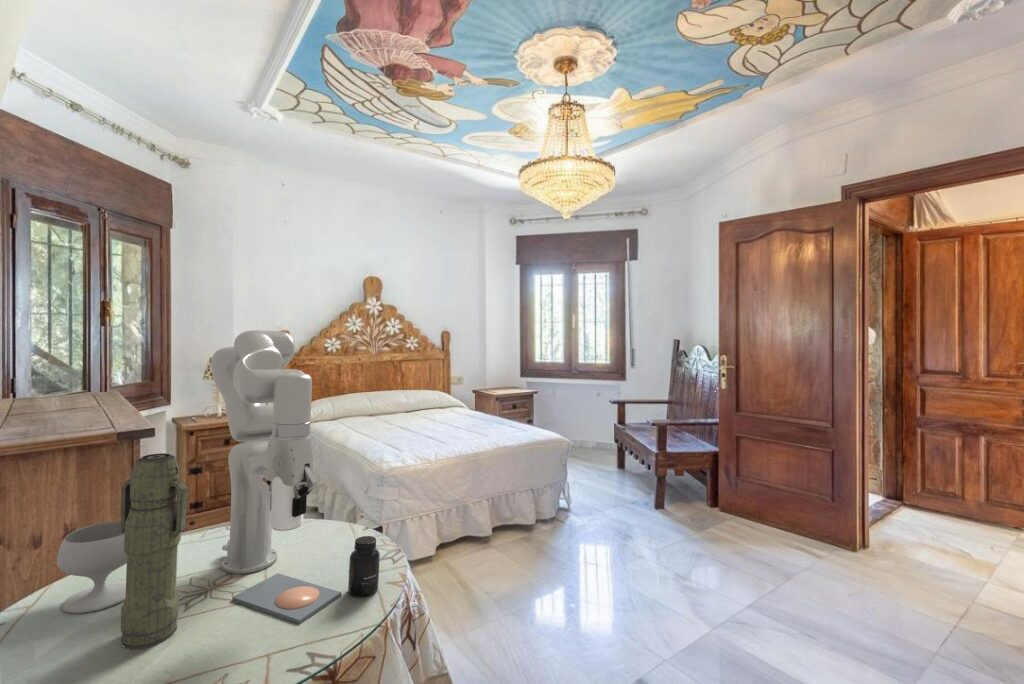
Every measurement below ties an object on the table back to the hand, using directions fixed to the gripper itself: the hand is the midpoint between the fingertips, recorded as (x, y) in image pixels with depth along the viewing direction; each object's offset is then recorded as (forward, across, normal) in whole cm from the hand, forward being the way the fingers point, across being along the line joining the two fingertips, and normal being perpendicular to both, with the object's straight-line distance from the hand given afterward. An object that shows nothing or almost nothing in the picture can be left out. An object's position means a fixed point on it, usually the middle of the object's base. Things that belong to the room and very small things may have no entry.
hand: (288, 511), depth 103 cm
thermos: (+21, -14, -19) cm, 32 cm away
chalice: (+22, -37, -17) cm, 46 cm away
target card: (+21, -2, +3) cm, 21 cm away
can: (+3, 0, 0) cm, 3 cm away
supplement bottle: (+21, +10, +13) cm, 27 cm away
